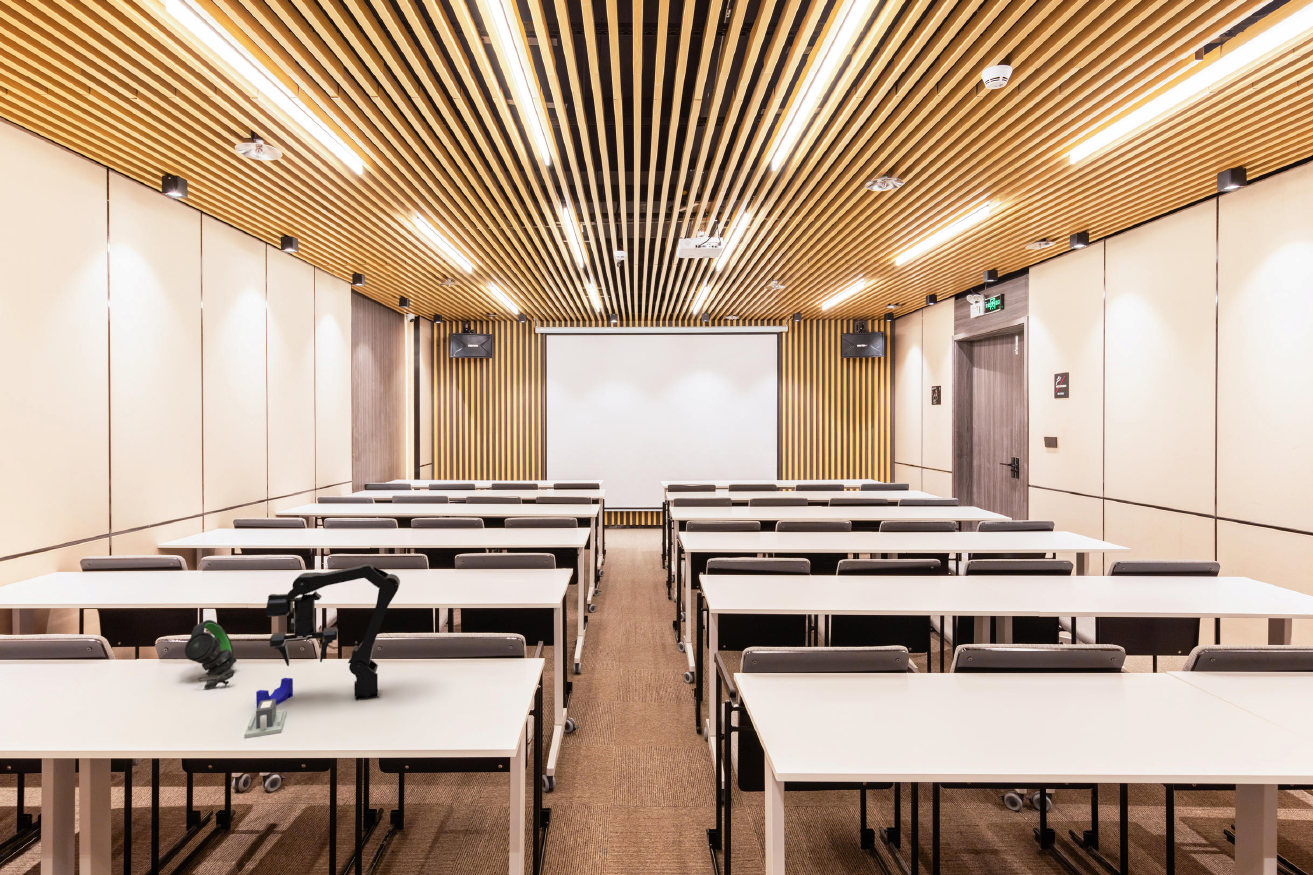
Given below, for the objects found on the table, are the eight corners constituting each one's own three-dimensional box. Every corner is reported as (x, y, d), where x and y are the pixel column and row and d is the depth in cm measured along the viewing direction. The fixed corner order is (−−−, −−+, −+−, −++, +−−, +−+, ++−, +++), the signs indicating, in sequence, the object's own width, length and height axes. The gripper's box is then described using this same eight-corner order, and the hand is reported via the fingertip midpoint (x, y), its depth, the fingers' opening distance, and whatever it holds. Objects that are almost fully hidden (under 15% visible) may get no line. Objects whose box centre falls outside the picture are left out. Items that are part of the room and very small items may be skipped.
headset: (208, 710, 232) (218, 648, 255) (249, 690, 234) (255, 630, 257) (173, 680, 221) (186, 618, 244) (215, 659, 224) (225, 600, 247)
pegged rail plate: (286, 713, 208) (286, 697, 208) (281, 732, 195) (281, 714, 195) (252, 718, 205) (251, 701, 205) (244, 738, 192) (244, 720, 192)
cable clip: (280, 695, 223) (280, 677, 223) (292, 696, 222) (292, 678, 222) (252, 710, 211) (251, 691, 211) (265, 711, 210) (264, 692, 210)
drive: (276, 715, 205) (275, 698, 205) (272, 726, 197) (272, 708, 197) (260, 717, 203) (260, 700, 203) (256, 728, 196) (256, 710, 196)
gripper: (338, 605, 228) (338, 652, 228) (273, 611, 221) (274, 659, 221) (336, 613, 218) (337, 663, 218) (269, 620, 211) (269, 671, 211)
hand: (304, 663), depth 217 cm, fingers open, 9 cm apart
